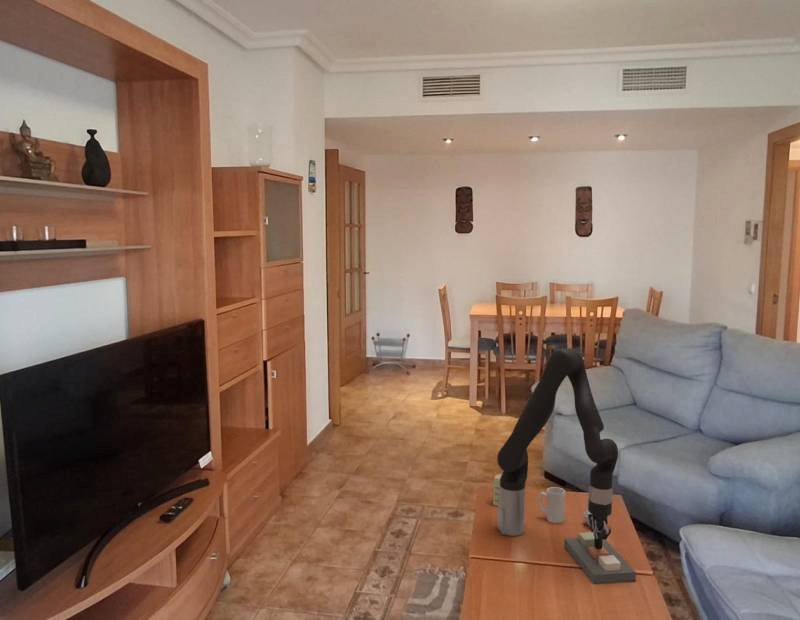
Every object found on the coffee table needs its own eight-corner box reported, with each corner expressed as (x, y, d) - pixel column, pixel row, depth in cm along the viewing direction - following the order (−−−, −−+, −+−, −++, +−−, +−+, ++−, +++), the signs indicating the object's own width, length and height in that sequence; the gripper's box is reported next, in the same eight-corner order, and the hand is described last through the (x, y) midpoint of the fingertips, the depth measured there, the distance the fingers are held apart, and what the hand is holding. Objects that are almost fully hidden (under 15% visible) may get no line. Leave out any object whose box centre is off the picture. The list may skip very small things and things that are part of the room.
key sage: (584, 550, 210) (584, 539, 209) (578, 543, 215) (578, 533, 214) (598, 550, 210) (598, 539, 210) (591, 543, 215) (592, 532, 215)
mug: (563, 516, 239) (564, 487, 238) (565, 524, 233) (566, 494, 232) (537, 515, 241) (537, 485, 240) (538, 522, 234) (538, 492, 233)
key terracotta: (594, 565, 202) (594, 554, 202) (587, 557, 207) (588, 546, 206) (608, 564, 203) (609, 553, 202) (601, 557, 208) (602, 545, 207)
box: (521, 504, 251) (522, 477, 249) (517, 510, 245) (518, 482, 244) (496, 500, 255) (497, 473, 254) (492, 505, 250) (493, 477, 249)
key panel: (593, 583, 192) (593, 574, 192) (564, 546, 216) (564, 538, 215) (635, 580, 194) (636, 571, 193) (601, 544, 217) (602, 536, 217)
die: (607, 535, 226) (616, 509, 229) (586, 523, 226) (595, 498, 229) (595, 533, 234) (605, 508, 237) (575, 521, 234) (585, 497, 237)
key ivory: (605, 575, 194) (605, 563, 194) (598, 567, 199) (598, 555, 198) (620, 574, 195) (620, 562, 194) (612, 566, 200) (613, 555, 199)
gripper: (581, 491, 208) (579, 539, 210) (598, 507, 195) (595, 558, 197) (602, 490, 209) (600, 538, 211) (620, 506, 196) (617, 557, 198)
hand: (598, 548), depth 204 cm, fingers closed
